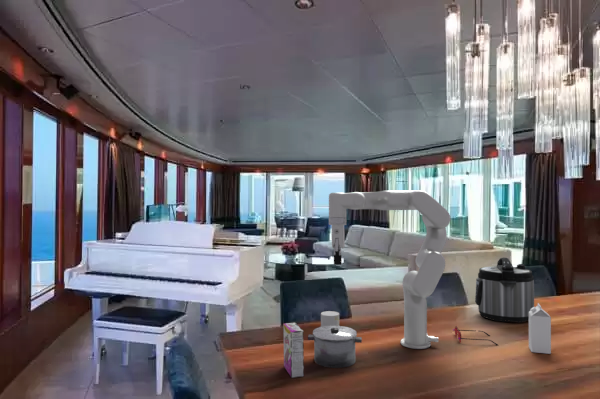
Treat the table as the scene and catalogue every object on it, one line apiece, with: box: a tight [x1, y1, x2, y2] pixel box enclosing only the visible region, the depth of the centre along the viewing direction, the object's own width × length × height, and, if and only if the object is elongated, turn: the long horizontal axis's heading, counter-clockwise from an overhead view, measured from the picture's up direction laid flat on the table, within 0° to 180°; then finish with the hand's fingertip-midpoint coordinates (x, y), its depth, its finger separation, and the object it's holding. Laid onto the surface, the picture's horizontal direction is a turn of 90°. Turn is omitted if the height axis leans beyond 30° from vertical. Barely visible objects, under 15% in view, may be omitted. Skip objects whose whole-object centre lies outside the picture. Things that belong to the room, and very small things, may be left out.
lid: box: [312, 325, 358, 341], centre depth 172 cm, size 17×17×2 cm
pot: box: [307, 334, 363, 369], centre depth 173 cm, size 21×17×10 cm
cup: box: [320, 310, 340, 327], centre depth 196 cm, size 8×8×12 cm
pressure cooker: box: [474, 257, 535, 323], centre depth 235 cm, size 30×28×32 cm
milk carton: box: [528, 302, 552, 355], centre depth 183 cm, size 7×7×19 cm
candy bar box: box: [282, 322, 305, 379], centre depth 160 cm, size 11×5×16 cm, turn 17°
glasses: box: [452, 325, 499, 346], centre depth 197 cm, size 14×16×5 cm
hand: (337, 264), depth 188 cm, fingers closed
